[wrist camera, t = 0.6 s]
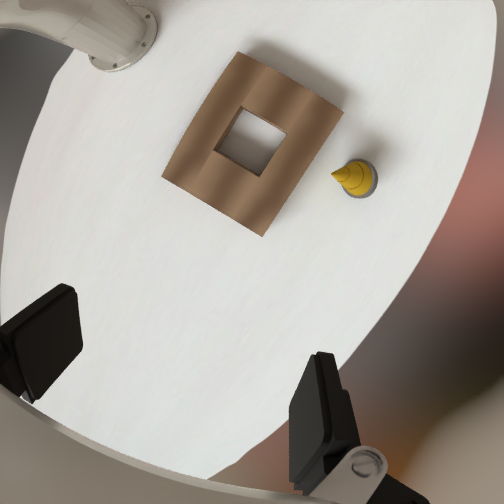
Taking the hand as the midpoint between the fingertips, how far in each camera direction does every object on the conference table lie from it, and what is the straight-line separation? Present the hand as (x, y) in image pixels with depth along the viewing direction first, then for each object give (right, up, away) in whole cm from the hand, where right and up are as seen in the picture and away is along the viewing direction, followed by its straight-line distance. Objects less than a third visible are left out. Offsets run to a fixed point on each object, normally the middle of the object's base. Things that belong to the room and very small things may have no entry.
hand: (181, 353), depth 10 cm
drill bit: (+16, +14, +28) cm, 35 cm away
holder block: (+3, +19, +27) cm, 33 cm away
